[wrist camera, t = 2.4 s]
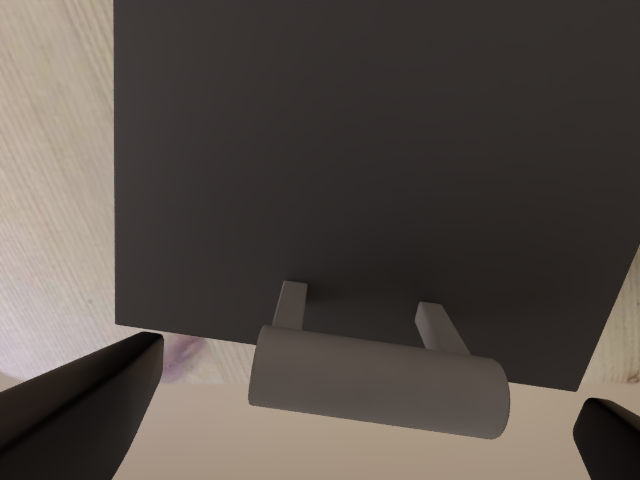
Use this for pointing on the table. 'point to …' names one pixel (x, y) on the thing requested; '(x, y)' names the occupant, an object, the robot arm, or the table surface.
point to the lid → (380, 194)
